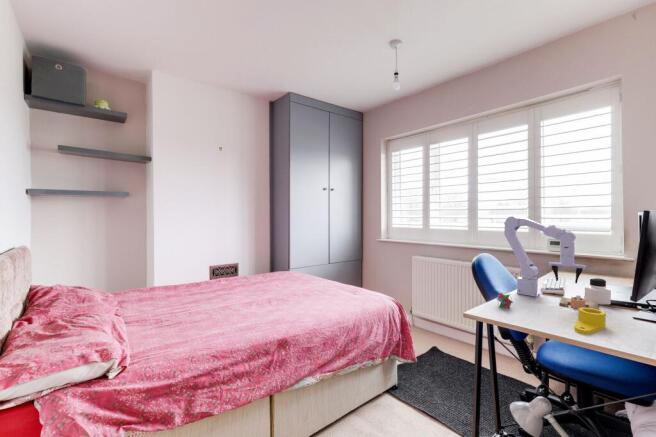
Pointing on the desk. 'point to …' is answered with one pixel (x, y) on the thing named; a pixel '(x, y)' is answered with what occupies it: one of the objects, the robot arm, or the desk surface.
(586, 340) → the desk surface
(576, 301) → the hollow octagonal tube
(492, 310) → the desk surface
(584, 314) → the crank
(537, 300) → the desk surface
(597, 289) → the medicine bottle
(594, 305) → the wooden u-shaped block
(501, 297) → the geometric puzzle
